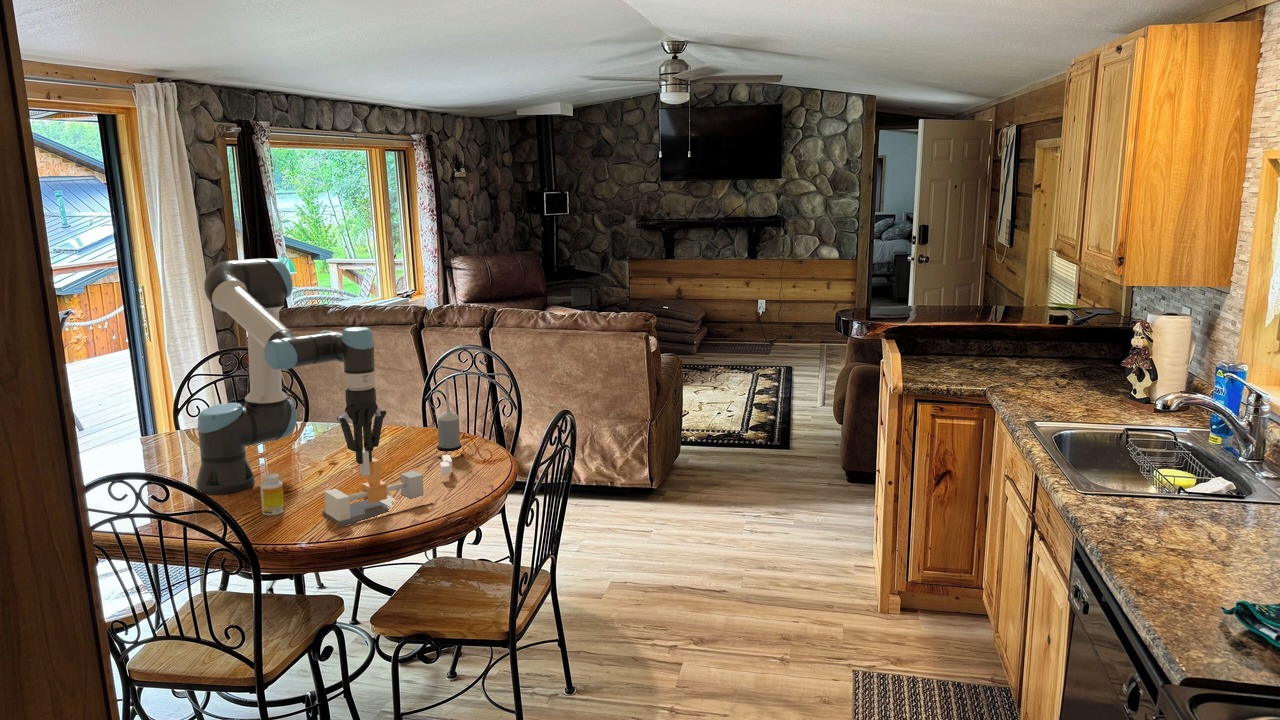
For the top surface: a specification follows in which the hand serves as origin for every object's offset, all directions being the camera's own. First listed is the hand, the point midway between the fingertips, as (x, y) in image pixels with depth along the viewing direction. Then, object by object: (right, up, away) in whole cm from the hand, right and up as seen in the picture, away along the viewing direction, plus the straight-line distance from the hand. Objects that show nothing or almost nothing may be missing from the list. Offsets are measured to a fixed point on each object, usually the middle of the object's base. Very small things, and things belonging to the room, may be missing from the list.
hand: (364, 474), depth 229 cm
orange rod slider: (+2, -7, +3) cm, 8 cm away
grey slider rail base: (+2, -10, +4) cm, 11 cm away
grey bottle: (+11, -1, +53) cm, 54 cm away
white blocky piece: (+14, -6, +32) cm, 35 cm away
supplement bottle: (-25, -10, +1) cm, 27 cm away
